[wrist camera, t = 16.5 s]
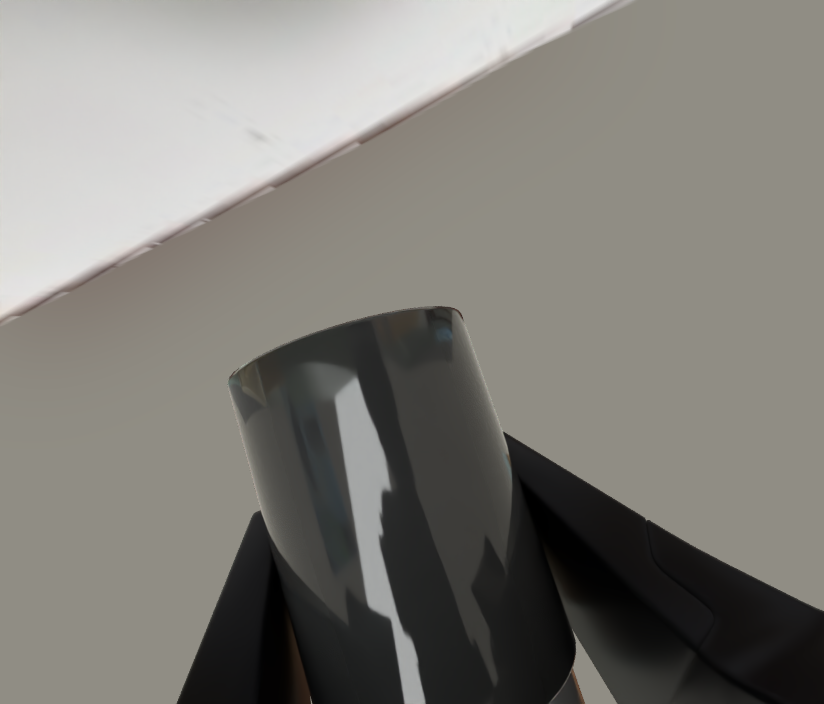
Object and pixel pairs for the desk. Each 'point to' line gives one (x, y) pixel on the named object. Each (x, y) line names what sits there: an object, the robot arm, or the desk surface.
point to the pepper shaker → (401, 519)
